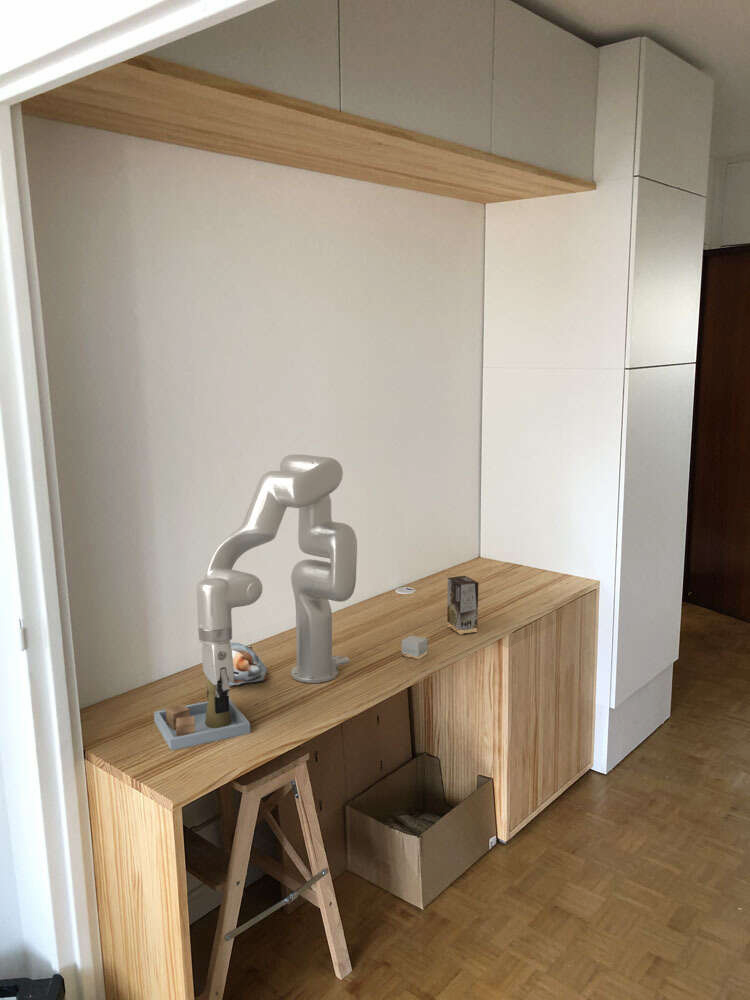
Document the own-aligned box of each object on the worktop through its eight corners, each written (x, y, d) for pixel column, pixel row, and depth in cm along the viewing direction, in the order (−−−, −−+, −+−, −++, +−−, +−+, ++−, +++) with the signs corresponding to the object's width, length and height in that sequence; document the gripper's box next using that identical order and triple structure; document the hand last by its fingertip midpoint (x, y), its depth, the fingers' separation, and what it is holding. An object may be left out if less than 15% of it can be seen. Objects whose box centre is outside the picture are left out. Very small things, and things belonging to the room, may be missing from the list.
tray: (228, 708, 202) (228, 696, 202) (250, 735, 188) (249, 723, 188) (154, 723, 194) (153, 711, 194) (171, 753, 180) (170, 740, 180)
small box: (428, 654, 238) (428, 638, 237) (418, 660, 233) (418, 644, 232) (411, 650, 241) (411, 634, 240) (400, 656, 236) (400, 640, 235)
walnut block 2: (195, 732, 188) (194, 716, 188) (195, 740, 185) (194, 724, 184) (177, 734, 188) (176, 717, 187) (176, 742, 184) (176, 725, 183)
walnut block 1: (182, 719, 195) (182, 703, 194) (190, 725, 192) (189, 709, 191) (166, 724, 193) (165, 708, 192) (173, 730, 189) (173, 714, 189)
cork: (219, 713, 198) (218, 670, 195) (236, 721, 194) (236, 677, 192) (199, 722, 193) (198, 678, 191) (216, 730, 189) (216, 686, 187)
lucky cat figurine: (278, 675, 222) (276, 641, 214) (249, 706, 214) (246, 672, 206) (234, 650, 228) (231, 616, 219) (205, 680, 220) (200, 645, 212)
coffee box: (478, 633, 255) (479, 582, 253) (459, 635, 253) (460, 584, 250) (464, 623, 264) (465, 574, 261) (446, 626, 261) (447, 576, 258)
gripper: (243, 641, 183) (245, 718, 187) (220, 619, 198) (223, 690, 202) (209, 647, 180) (213, 725, 183) (189, 624, 195) (192, 696, 198)
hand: (218, 706), depth 192 cm, fingers open, 5 cm apart
